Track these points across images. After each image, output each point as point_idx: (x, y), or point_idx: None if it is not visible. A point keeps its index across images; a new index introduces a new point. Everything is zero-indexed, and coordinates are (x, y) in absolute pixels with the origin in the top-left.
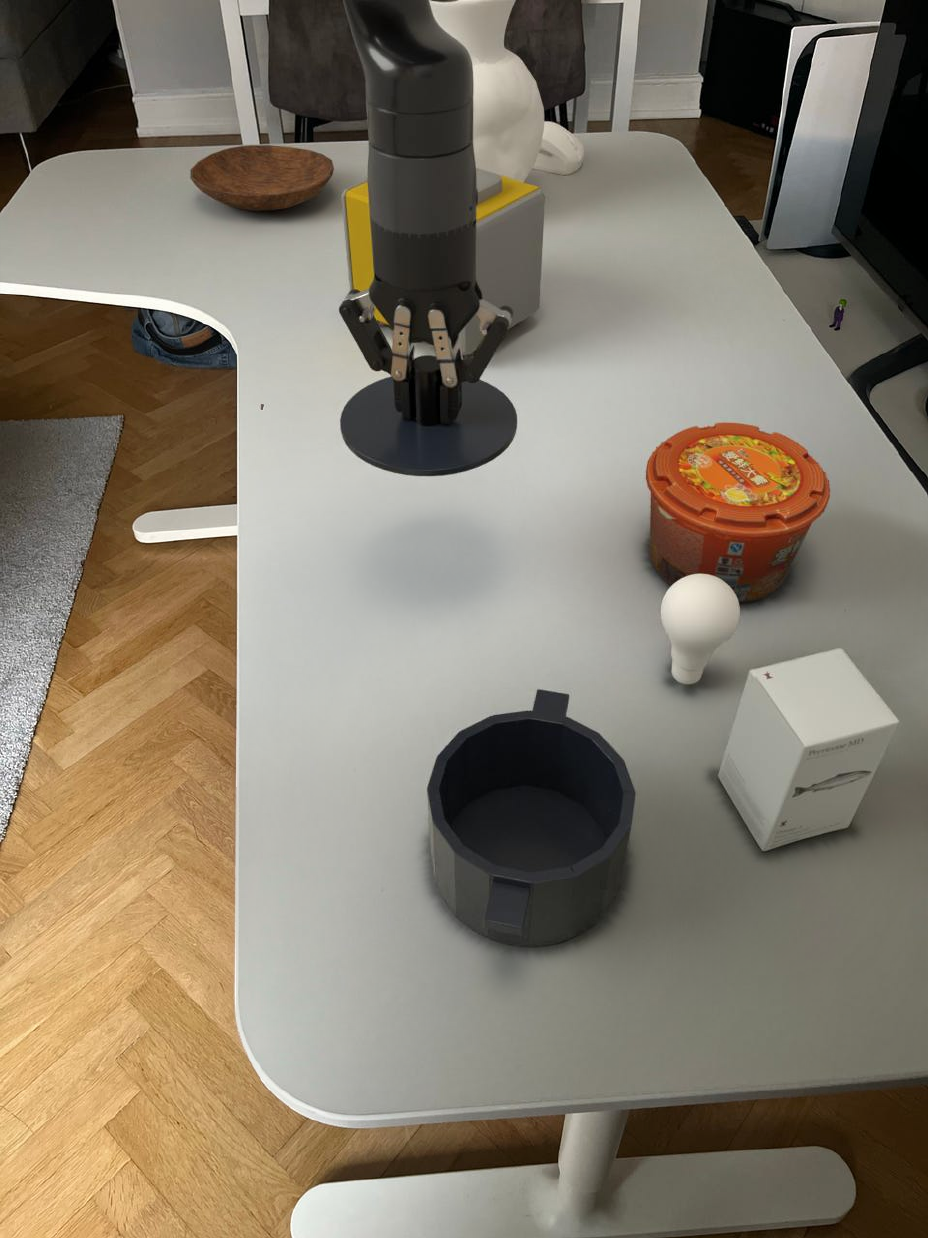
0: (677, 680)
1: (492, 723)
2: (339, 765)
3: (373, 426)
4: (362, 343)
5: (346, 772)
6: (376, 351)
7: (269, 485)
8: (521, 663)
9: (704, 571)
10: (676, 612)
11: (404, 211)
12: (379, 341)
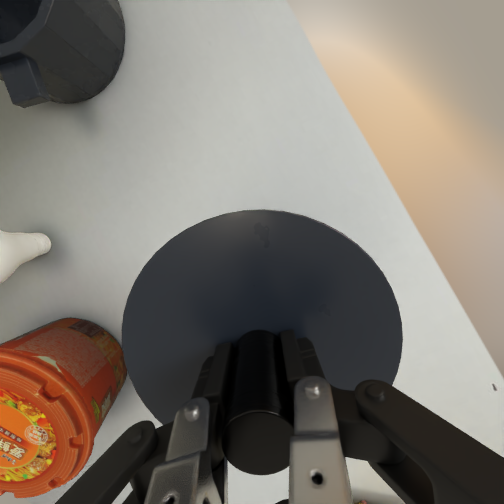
0: (41, 233)
1: (38, 13)
2: (222, 41)
3: (329, 294)
4: (452, 443)
5: (213, 37)
6: (392, 429)
7: (437, 300)
8: (152, 204)
9: (44, 330)
10: None
11: None
12: (408, 475)
